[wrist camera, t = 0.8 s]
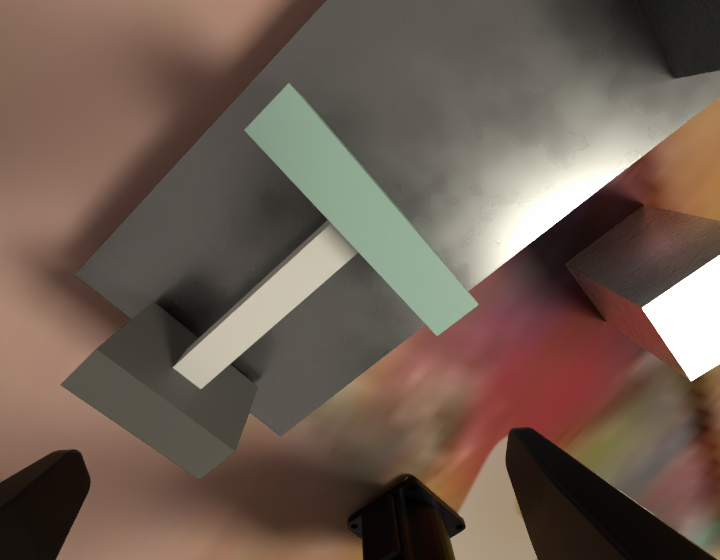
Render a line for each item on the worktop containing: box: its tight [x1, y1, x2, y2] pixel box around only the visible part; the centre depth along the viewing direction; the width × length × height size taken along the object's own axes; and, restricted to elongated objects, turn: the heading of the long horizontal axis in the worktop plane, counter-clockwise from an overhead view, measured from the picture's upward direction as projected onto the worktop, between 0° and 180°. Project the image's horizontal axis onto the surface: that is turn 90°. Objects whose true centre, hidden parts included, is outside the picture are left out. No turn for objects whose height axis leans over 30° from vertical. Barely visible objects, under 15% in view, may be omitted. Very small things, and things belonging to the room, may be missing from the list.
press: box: [75, 0, 720, 436], centre depth 15 cm, size 14×29×8 cm, turn 132°
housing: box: [565, 205, 720, 381], centre depth 19 cm, size 5×5×6 cm
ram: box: [61, 83, 479, 480], centre depth 16 cm, size 10×14×5 cm
